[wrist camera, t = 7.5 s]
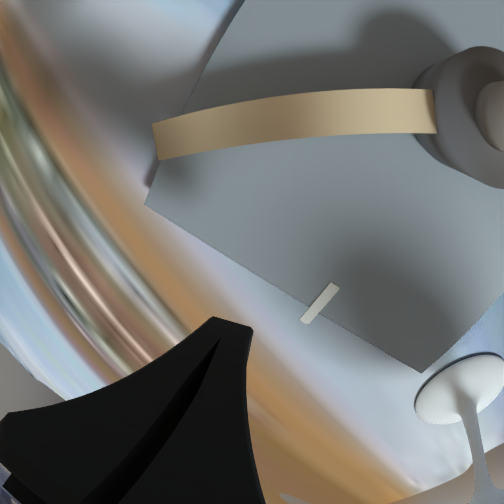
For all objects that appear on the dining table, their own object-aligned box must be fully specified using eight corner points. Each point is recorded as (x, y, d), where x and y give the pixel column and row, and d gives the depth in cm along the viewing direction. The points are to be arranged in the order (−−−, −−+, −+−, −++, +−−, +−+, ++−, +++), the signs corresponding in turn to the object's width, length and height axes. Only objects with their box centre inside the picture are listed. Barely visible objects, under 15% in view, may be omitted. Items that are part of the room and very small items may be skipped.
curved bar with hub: (546, 82, 7) (605, 83, 3) (551, 175, 9) (609, 202, 5) (184, 87, 13) (119, 79, 8) (201, 185, 14) (146, 217, 10)
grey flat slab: (584, 120, 8) (598, 123, 6) (407, 366, 18) (410, 383, 17) (327, -87, 7) (326, -101, 6) (152, 210, 18) (138, 219, 16)
